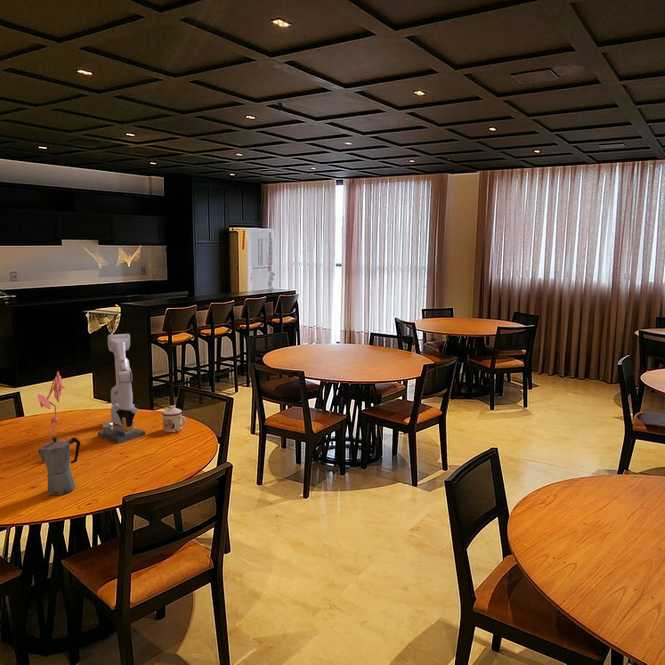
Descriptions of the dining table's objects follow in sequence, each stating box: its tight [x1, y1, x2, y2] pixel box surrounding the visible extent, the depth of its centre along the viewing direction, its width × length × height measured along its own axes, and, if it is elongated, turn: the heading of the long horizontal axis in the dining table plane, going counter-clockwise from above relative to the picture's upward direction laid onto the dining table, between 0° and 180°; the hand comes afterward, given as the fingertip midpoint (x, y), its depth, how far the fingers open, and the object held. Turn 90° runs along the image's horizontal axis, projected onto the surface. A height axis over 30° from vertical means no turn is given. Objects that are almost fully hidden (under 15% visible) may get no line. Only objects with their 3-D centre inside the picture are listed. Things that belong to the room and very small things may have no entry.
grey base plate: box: [97, 420, 146, 444], centre depth 267 cm, size 16×14×6 cm
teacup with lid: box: [161, 405, 187, 433], centre depth 275 cm, size 12×9×12 cm
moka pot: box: [36, 436, 81, 496], centre depth 208 cm, size 10×15×20 cm, turn 146°
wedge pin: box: [122, 417, 134, 431], centre depth 266 cm, size 3×3×7 cm
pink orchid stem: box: [37, 371, 82, 465], centre depth 242 cm, size 15×26×35 cm, turn 16°
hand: (126, 425), depth 266 cm, fingers closed on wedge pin, 3 cm apart
